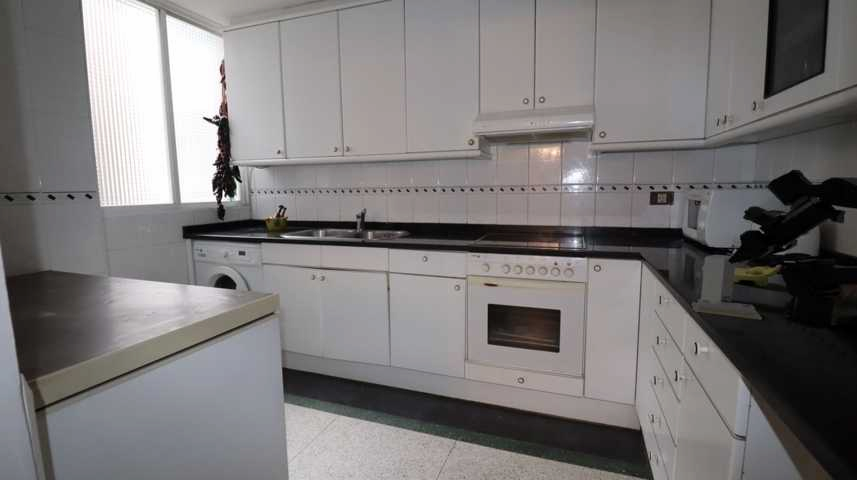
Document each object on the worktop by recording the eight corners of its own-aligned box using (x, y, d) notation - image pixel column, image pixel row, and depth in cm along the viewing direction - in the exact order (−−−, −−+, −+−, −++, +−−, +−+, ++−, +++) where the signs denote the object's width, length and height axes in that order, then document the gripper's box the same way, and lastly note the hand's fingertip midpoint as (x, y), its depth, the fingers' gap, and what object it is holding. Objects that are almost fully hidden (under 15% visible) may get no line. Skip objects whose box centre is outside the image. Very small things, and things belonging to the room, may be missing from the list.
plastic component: (698, 269, 136) (718, 255, 138) (705, 288, 137) (724, 273, 140) (763, 278, 117) (784, 261, 119) (770, 300, 118) (791, 282, 121)
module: (731, 301, 108) (736, 256, 106) (719, 305, 104) (724, 259, 102) (709, 296, 112) (713, 253, 110) (697, 300, 109) (701, 256, 107)
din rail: (754, 311, 99) (755, 303, 99) (761, 319, 93) (762, 311, 93) (691, 303, 105) (692, 296, 105) (694, 311, 99) (695, 303, 99)
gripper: (786, 194, 101) (731, 233, 112) (754, 196, 91) (697, 238, 102) (825, 228, 95) (762, 266, 106) (795, 234, 86) (730, 274, 97)
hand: (738, 260), depth 103 cm, fingers open, 9 cm apart
